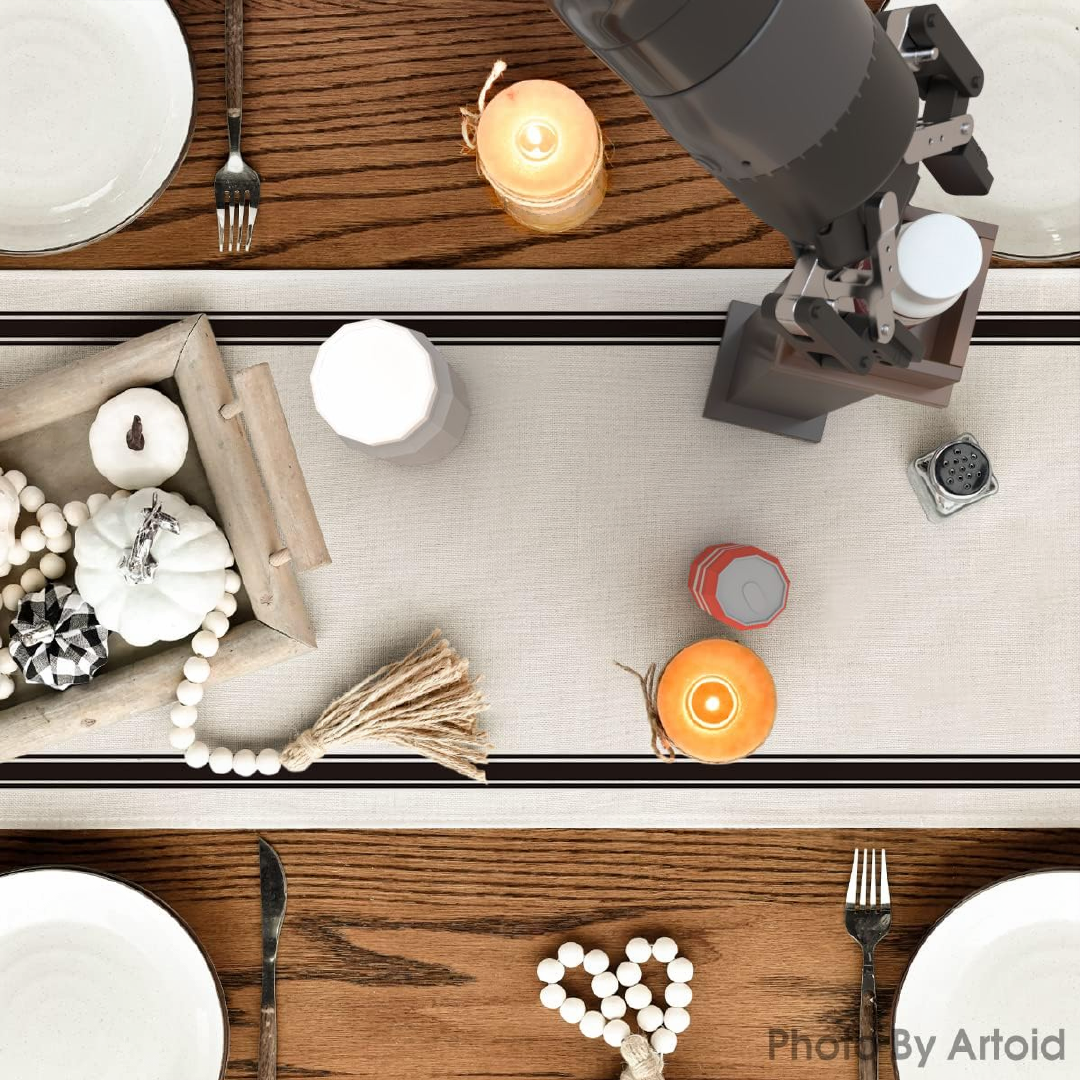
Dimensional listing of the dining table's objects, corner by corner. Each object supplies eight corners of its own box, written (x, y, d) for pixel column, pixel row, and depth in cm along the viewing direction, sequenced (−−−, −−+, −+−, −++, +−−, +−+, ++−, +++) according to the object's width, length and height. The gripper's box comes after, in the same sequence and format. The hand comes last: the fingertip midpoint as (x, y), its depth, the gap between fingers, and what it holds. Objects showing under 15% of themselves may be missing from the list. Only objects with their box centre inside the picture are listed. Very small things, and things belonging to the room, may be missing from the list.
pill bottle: (880, 236, 52) (941, 182, 43) (940, 297, 52) (1013, 255, 43) (818, 297, 52) (867, 255, 43) (878, 358, 52) (938, 327, 43)
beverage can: (708, 628, 79) (734, 648, 67) (674, 562, 79) (694, 570, 67) (772, 596, 79) (809, 610, 67) (738, 529, 79) (768, 532, 67)
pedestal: (729, 302, 79) (810, 197, 53) (844, 328, 78) (983, 236, 52) (701, 417, 79) (769, 369, 53) (816, 444, 79) (940, 409, 53)
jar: (491, 437, 79) (469, 414, 61) (389, 487, 80) (338, 479, 62) (441, 334, 79) (404, 281, 61) (339, 385, 80) (273, 347, 62)
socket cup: (810, 197, 53) (831, 171, 49) (983, 236, 52) (1018, 213, 48) (769, 369, 53) (785, 357, 49) (940, 409, 53) (971, 400, 49)
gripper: (784, 268, 31) (958, 422, 43) (941, -136, 31) (1076, 129, 42) (626, 256, 37) (818, 396, 48) (758, -88, 36) (921, 135, 48)
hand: (938, 271), depth 45 cm, fingers open, 8 cm apart
